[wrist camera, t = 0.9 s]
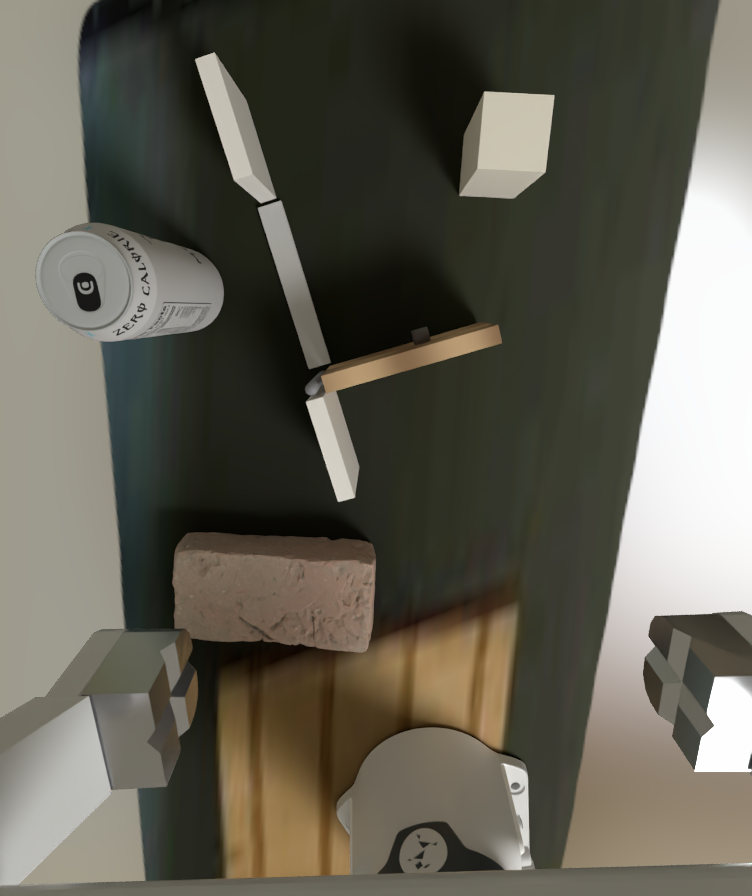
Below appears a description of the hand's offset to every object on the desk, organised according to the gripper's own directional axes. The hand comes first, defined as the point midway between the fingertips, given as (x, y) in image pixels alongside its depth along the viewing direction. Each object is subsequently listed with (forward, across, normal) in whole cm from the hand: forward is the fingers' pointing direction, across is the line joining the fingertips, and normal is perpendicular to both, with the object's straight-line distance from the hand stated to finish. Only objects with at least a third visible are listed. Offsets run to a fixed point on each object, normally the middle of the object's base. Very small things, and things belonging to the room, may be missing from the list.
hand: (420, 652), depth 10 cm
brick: (+34, -9, -19) cm, 40 cm away
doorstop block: (+36, +8, +13) cm, 39 cm away
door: (+34, +2, +1) cm, 34 cm away
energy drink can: (+36, -15, +5) cm, 39 cm away
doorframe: (+35, -6, +4) cm, 36 cm away
